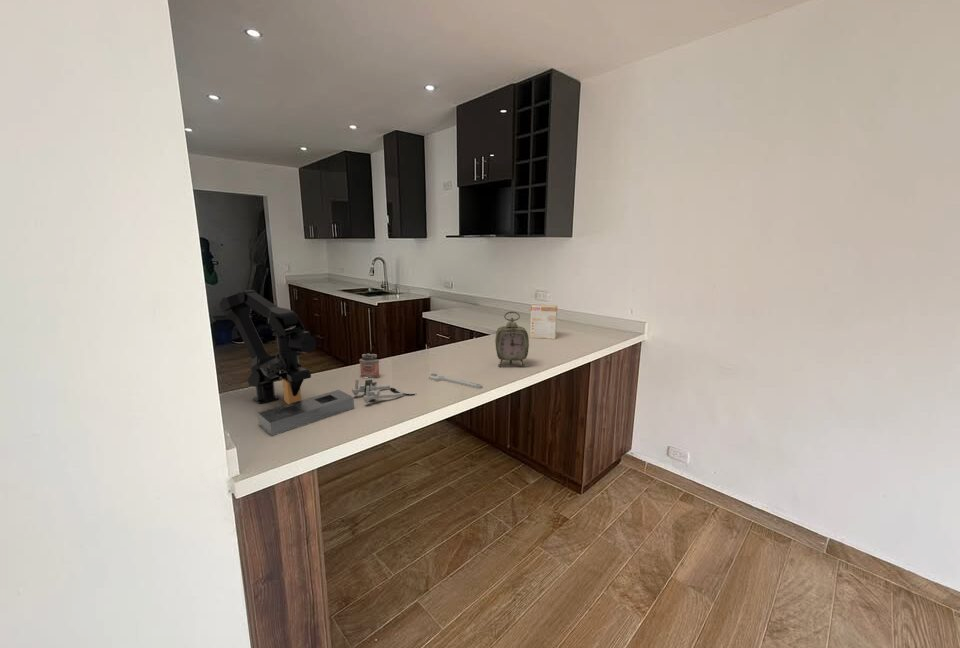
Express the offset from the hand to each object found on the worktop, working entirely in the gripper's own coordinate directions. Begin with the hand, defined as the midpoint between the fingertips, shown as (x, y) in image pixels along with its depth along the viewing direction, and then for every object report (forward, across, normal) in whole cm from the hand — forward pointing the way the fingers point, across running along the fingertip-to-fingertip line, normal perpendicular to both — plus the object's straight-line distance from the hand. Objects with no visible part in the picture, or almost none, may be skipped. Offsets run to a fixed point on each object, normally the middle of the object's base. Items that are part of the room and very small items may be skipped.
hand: (292, 394), depth 130 cm
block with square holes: (+4, +12, 0) cm, 13 cm away
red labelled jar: (+4, -7, +34) cm, 35 cm away
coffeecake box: (+5, +6, +144) cm, 144 cm away
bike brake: (+5, +15, +26) cm, 30 cm away
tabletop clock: (+5, +26, +87) cm, 91 cm away
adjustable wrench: (+5, +23, +53) cm, 58 cm away
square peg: (+3, 0, 0) cm, 3 cm away
